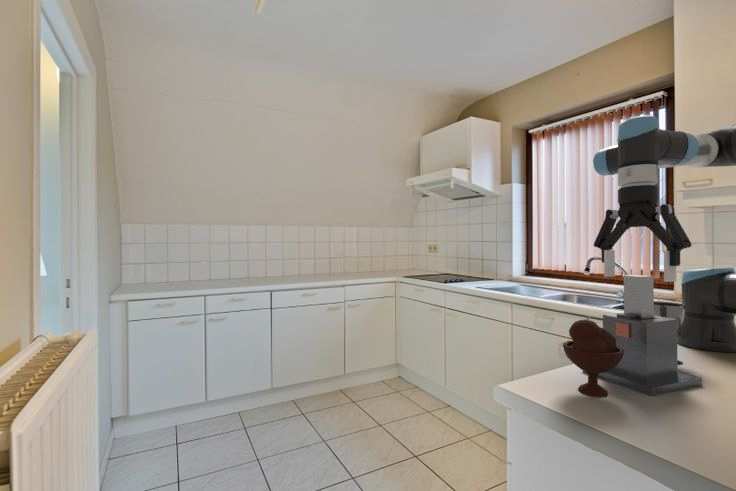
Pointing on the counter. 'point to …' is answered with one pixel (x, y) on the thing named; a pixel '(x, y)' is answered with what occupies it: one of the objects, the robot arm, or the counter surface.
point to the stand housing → (647, 354)
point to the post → (639, 296)
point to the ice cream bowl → (592, 353)
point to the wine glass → (671, 313)
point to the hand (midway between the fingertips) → (637, 279)
